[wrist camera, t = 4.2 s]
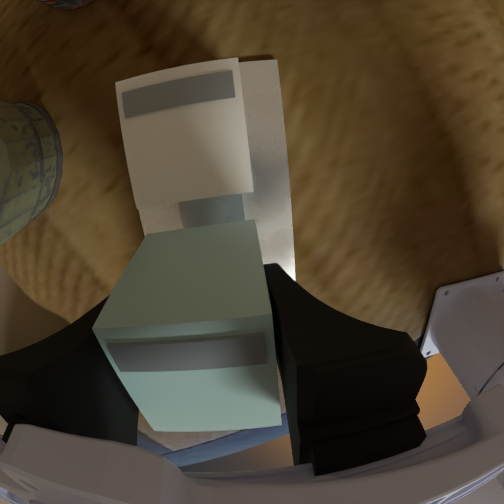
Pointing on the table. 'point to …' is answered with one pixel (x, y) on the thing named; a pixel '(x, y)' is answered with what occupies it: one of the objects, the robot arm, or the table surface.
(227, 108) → the mounted modules
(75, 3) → the supplement bottle
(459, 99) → the table surface
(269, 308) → the block
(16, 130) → the thermos
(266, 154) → the rail panel
